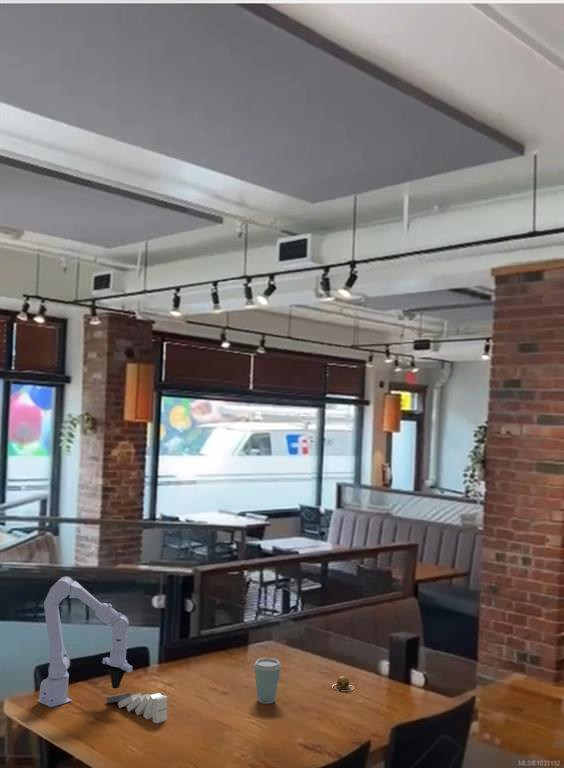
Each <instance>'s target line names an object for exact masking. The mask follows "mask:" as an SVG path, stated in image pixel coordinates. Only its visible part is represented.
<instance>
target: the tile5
mask: <svg viewBox="0 0 564 768" xmlns="http://www.w3.org/2000/svg"><path fill="white" fill-rule="evenodd" d="M153 694H154V693H153ZM150 695H151V694H150ZM160 696H163V695H162V694H161V693H160V692H159V693H158V692H157V693H155V694H154V695H151V696H150V697H149V700H148V703H147V706H146V709H145V712H144V714H142V715H143V716H142V717H144V718H145V719H146V720H150V719H151V718H152V719H153V709H154V698H156V697H160Z"/></svg>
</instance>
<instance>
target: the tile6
mask: <svg viewBox="0 0 564 768" xmlns="http://www.w3.org/2000/svg"><path fill="white" fill-rule="evenodd" d="M168 699H169V698H168V695H165V694H164V695H162V696H160V697H156V698H154V709H153V718H152V723H154V724H159V723H163V722H166V721H167V712H168V711H167V710H168Z"/></svg>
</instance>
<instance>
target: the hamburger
mask: <svg viewBox="0 0 564 768" xmlns="http://www.w3.org/2000/svg"><path fill="white" fill-rule="evenodd" d="M335 681H336V683H334V684H333V685H332V686H331V687H332V688H333V686H334V685H336V684H337V686H336V688H335V687H334V688H333V689H334V690H336V691H338V690H340V689H347V692H350V691H353V690H354V689H355V687H354V686H352V685H350V683H351V682H350V679H349V678H348V677H347V676H346V675H340V676H338V677H337V678H336V680H335ZM349 686H352V687H353V689H352V688H351V689H349V688H350V687H349ZM338 688H339V689H338ZM340 692H344V690H341V691H340Z"/></svg>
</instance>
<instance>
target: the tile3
mask: <svg viewBox="0 0 564 768" xmlns="http://www.w3.org/2000/svg"><path fill="white" fill-rule="evenodd" d="M141 695H142V696H139V697H138V698H136V699H135V700H134V701H133V702H131V703H130V704H129V705H128V706H125V707H126V709H127V712H128V713H130V712H134V711H135V710H136V708H137V707H138V706H139V704H140V703H141V701H142V700H143V699H144V697H145V696H147V695H150V694H149V693H146V694H141Z"/></svg>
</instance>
